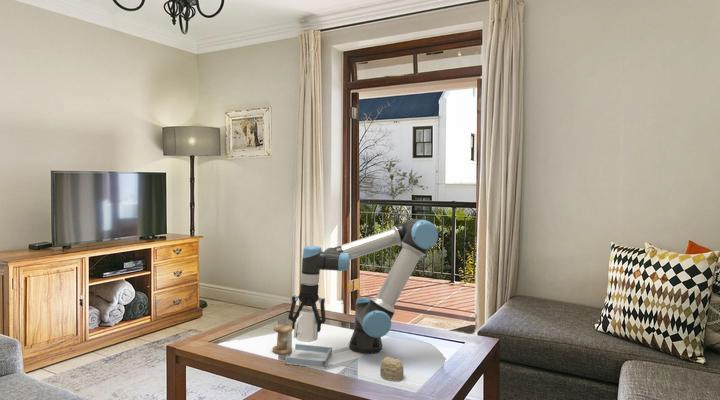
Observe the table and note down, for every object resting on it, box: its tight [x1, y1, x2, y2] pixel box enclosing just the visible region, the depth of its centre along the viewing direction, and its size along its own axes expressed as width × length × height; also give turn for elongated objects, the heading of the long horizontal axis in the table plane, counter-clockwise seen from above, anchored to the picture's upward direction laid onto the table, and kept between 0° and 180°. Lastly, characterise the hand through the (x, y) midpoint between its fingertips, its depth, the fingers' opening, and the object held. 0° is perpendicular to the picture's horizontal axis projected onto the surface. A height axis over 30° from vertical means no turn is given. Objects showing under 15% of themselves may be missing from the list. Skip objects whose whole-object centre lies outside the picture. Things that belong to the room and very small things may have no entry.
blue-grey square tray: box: [284, 343, 333, 370], centre depth 186 cm, size 16×17×3 cm
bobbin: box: [271, 324, 294, 355], centre depth 193 cm, size 8×8×10 cm
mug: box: [295, 307, 317, 343], centre depth 186 cm, size 12×8×12 cm
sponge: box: [379, 356, 405, 382], centre depth 174 cm, size 9×10×10 cm
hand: (305, 338), depth 186 cm, fingers closed on mug, 8 cm apart
